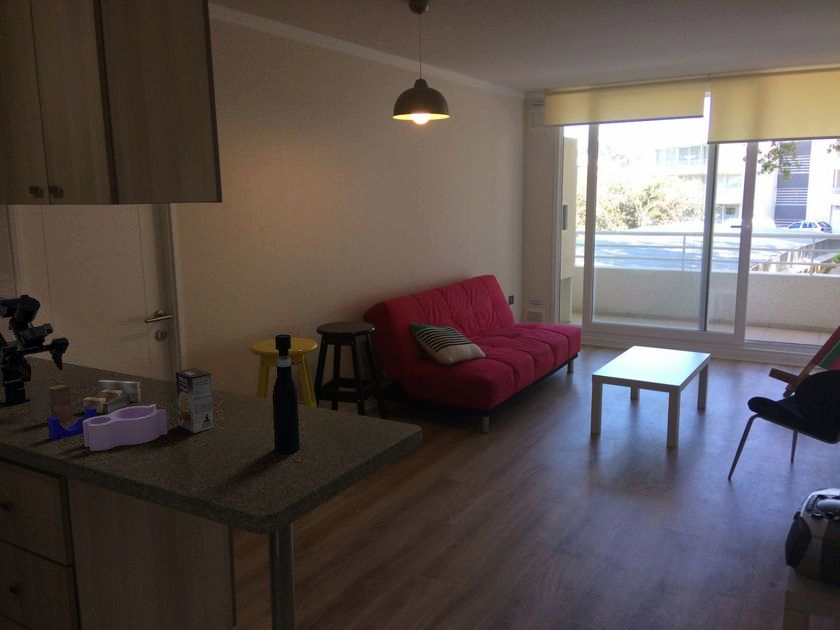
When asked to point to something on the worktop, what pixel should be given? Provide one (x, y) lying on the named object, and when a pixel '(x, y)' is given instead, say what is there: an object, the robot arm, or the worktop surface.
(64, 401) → the plain brown block
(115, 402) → the stepped pillar cluster
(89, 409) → the cable clip
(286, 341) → the dark blue water bottle
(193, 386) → the coffee box
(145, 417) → the purple double cup holder
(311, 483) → the worktop surface
